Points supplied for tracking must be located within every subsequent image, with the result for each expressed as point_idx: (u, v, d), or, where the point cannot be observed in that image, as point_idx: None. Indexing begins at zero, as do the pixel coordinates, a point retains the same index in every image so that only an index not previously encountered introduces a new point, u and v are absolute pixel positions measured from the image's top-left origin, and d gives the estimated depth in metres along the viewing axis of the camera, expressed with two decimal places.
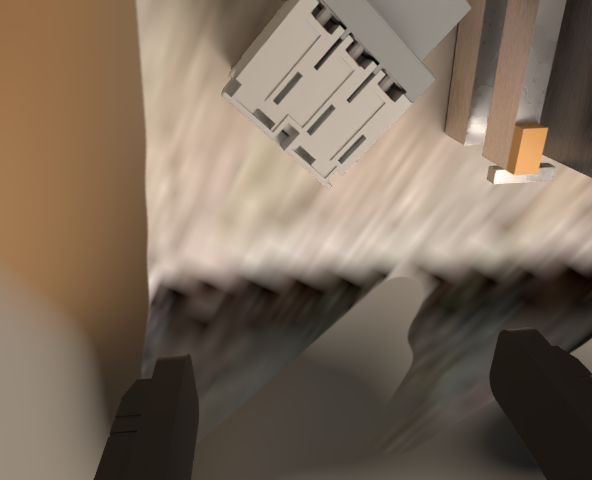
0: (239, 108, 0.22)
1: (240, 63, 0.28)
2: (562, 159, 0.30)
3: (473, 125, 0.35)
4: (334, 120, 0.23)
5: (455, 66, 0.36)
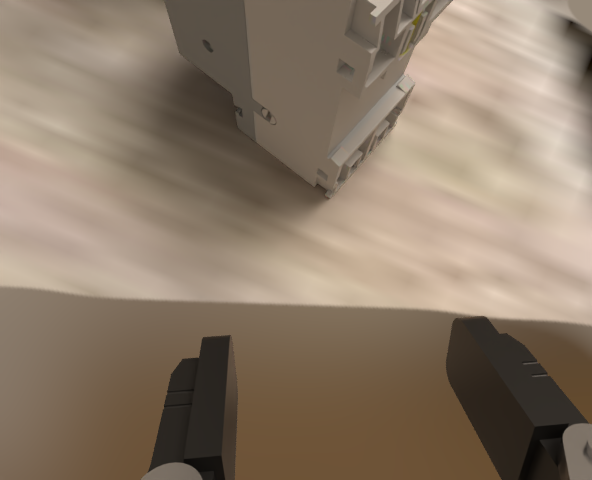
0: None
1: (325, 125, 0.22)
2: None
3: None
4: None
5: None
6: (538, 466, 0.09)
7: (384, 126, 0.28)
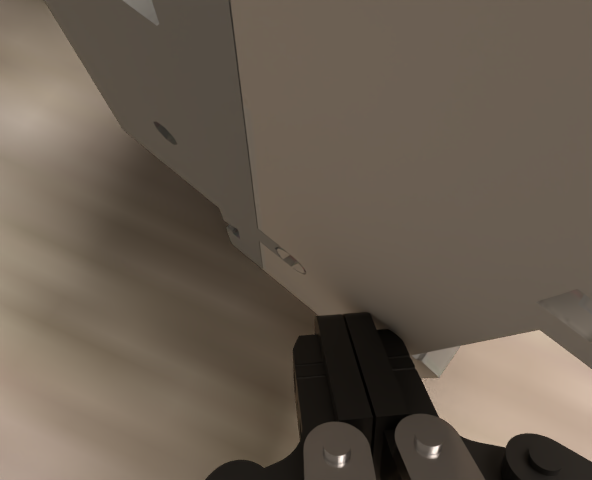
0: None
1: (429, 333, 0.10)
2: None
3: None
4: None
5: None
6: (384, 455, 0.09)
7: None
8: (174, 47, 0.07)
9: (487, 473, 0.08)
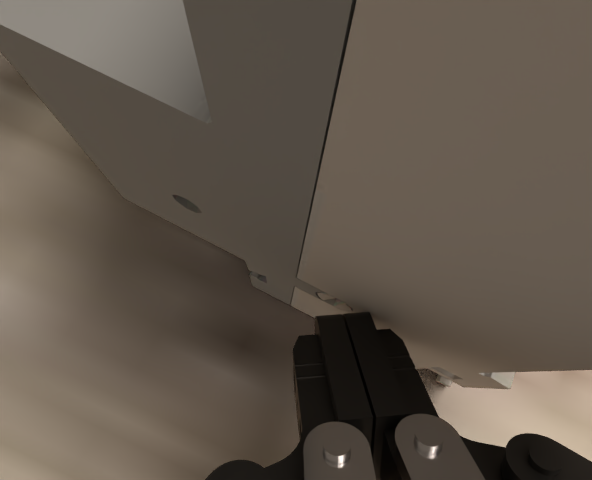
0: None
1: (513, 360, 0.09)
2: None
3: None
4: None
5: None
6: (384, 455, 0.09)
7: None
8: (228, 141, 0.06)
9: (487, 473, 0.08)
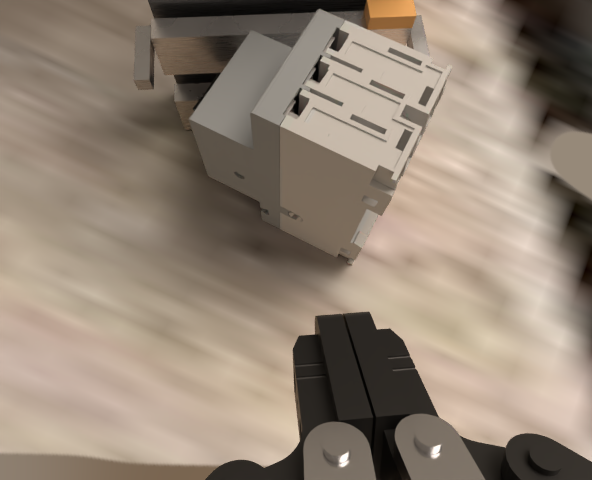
0: (402, 162, 0.21)
1: (349, 226, 0.28)
2: None
3: None
4: (382, 78, 0.23)
5: None
6: (384, 455, 0.09)
7: None
8: (257, 153, 0.25)
9: (487, 473, 0.08)
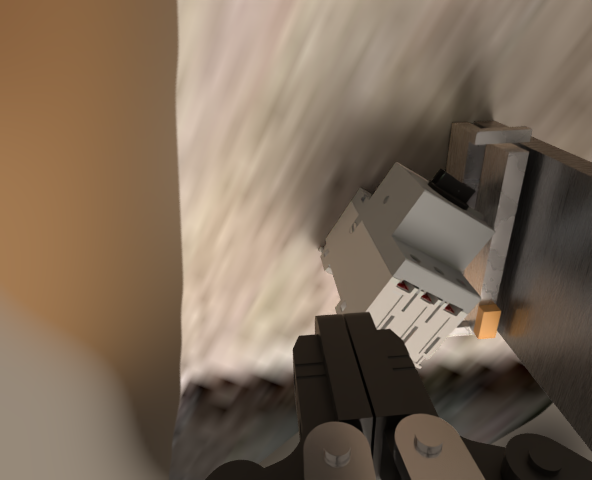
0: None
1: (336, 274, 0.41)
2: None
3: None
4: (418, 332, 0.35)
5: None
6: (384, 455, 0.09)
7: None
8: (388, 236, 0.35)
9: (487, 473, 0.08)
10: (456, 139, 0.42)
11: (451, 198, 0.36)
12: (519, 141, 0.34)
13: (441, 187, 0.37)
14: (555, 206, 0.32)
